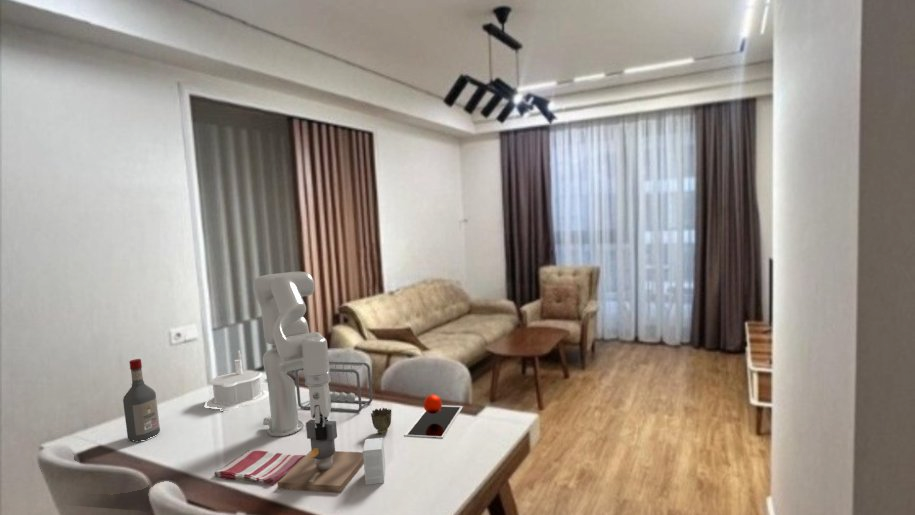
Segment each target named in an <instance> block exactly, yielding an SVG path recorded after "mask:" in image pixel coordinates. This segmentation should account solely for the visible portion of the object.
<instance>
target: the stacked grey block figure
mask: <svg viewBox="0 0 915 515" xmlns="http://www.w3.org/2000/svg"><path fill="white" fill-rule="evenodd" d="M320 421H321V420H320ZM325 426H326V431H327V439H324V440H316V434H315V419H309V420H308V421H306V422H305V428H306V439H309V440H310V448H311V449H310V451H311V457H313V458H316V459H323V458H327V457H330V456H332V455H333V454H334V453H335V451H336V446H335V445H336V444H335V439H337V438H338V431H337V430H338V429H337V421H336V420H335V421H334V420H328V421H325Z"/></svg>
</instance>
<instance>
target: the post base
mask: <svg viewBox="0 0 915 515" xmlns="http://www.w3.org/2000/svg"><path fill="white" fill-rule="evenodd" d="M305 455H306V456H305V457H304V458H303V459H302V460H300V461H299V462H298V463H297V464H296V465H295V466H294V467H293V468H292V469H291V470H290V471H289V472H288V473H287V474H286V475H285V476H284V477H283V478H282V479H281V480H280V481H278V482H277V487H278V488H277V489H279V490H297V491H310V492H328V493H342V492H343V491H344V490H345V488H346V487H348V485H349V483H350V482H351V481H352V479H353V478H354V477H355V475H356V474H357V473H358V472H359V470H360V469H361V468H362V467H363V466H364V460H363V451H362V452H361V451H339V450H338V451H337V450H335V453H334V454H333V455H332V456H330V457H327V458H323V459H316V458H313V457H311V450H309V452H308V453H307V454H305Z"/></svg>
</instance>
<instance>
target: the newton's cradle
mask: <svg viewBox="0 0 915 515" xmlns="http://www.w3.org/2000/svg"><path fill="white" fill-rule="evenodd" d="M330 365H332V366H330ZM336 366H341V367H343V368H341V367H336ZM344 366H348V368H344ZM352 366H357V368H352ZM363 366H366V368H367V381H368V394H369V400H362V393H361V392H362V391H361V380H360V379H361V378H360V373H359V371H357V370H358V369H360V368H361V367H363ZM333 367H334V368H333ZM329 370H330V377H332V375H331V372H333V373H337V374H338V376H337V377H340V375H339V373H345V376H346V377H348V374H347V373H354V374H355V375H356V384H357V397H358V398H357V399H356V394H355V393H354V392H351V388H348V390H349V393H346V392H344V391H343V388H340V390H341V392H340V393H339V392H337V391H335V388H332V390H333V392H330V399H331V401H335V402H334V403H348V404H349V403H351V404H358V409H354V408H353V409H352V408H338V407H337V408H336V407H331V410H330V412H331V411H332V412H344V413H345V412H346V413H360V412H361V411H362V408H363V407H364V406H366V405H369V404H371V403H372V402H373V389H372V376H371V375H372V374H371V367H370V364H368V363H367V362H360V361H359V362H358V361H357V362H353V361H329ZM299 371H304V368H301V369H297V370H294V375H295V389H296V400H297V406H298V407H299V408H300V409H302V408H308V409H307V410H310V402H309V403H307V404H306V405H302V402H301V400H302V399H301V392H300V382H299V381H300V380H299ZM332 379H333V378H330V382H333V381H332ZM346 379H347V380H346V381H347V382H349V379H348V378H346ZM338 380H339V382H341V380H340V378H338ZM339 384H340V385H339V386H340V387H342V385H341V383H339ZM347 385H348V387H350V384H349V383H347ZM331 386H332V387H334V385H333V383H331ZM308 404H309V405H308Z"/></svg>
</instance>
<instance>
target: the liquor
mask: <svg viewBox="0 0 915 515" xmlns="http://www.w3.org/2000/svg"><path fill="white" fill-rule="evenodd" d="M142 368H143V365H142V359H141V358H136V359H131V360H129V370H130V372H131V373H130V374H131V387H130V388H129V389H128V391H127V392H126V394H125V395H124V396H123V399H122V403H123V410H124V419H125V426H126V435H127V440H128V441H129V440H134V441H141V440H146V439H148V438H150V437H153V436H155V435H157V434H158V433H159V434H160V432H161V426H160V419H159V409H158V401H157V393H156V391H155V390H154V389H153V388H151V387H150V386H148V385H147V384H146V383H145V381H144V377H143V370H142ZM159 434H158V435H159ZM155 437H156V436H155ZM153 438H154V437H153ZM134 441H133V442H134ZM146 441H147V440H146Z"/></svg>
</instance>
